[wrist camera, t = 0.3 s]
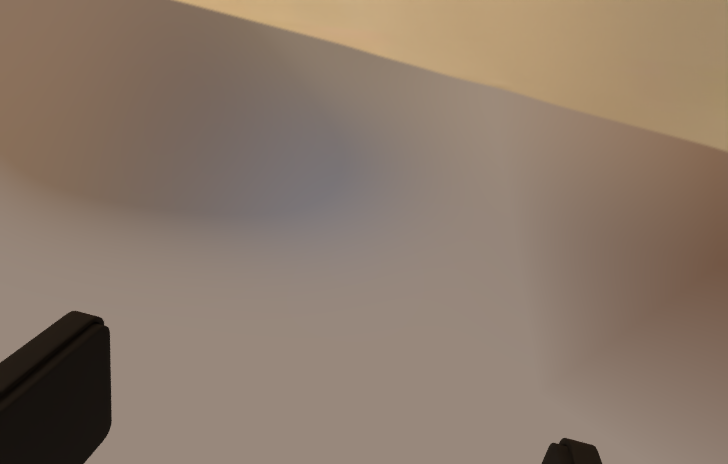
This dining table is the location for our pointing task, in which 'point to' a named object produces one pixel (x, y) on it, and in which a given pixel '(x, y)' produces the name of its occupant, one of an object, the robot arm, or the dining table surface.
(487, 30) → the dining table surface
